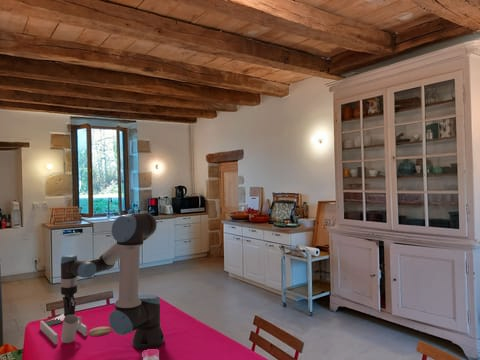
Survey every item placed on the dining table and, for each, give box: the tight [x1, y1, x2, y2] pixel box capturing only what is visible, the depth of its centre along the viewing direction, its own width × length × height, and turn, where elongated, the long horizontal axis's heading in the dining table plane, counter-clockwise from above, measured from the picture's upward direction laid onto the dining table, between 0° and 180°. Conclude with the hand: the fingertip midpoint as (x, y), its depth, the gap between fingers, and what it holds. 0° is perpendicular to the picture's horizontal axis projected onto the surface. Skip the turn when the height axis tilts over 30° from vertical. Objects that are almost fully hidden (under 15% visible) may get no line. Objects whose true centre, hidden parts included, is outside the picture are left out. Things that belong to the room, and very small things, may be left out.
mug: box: [60, 314, 83, 344], centre depth 187 cm, size 10×7×12 cm, turn 150°
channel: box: [39, 320, 88, 345], centre depth 198 cm, size 26×15×4 cm, turn 42°
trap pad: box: [44, 318, 63, 327], centre depth 212 cm, size 8×8×1 cm
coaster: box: [88, 326, 112, 337], centre depth 198 cm, size 11×11×1 cm
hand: (69, 331), depth 191 cm, fingers closed
